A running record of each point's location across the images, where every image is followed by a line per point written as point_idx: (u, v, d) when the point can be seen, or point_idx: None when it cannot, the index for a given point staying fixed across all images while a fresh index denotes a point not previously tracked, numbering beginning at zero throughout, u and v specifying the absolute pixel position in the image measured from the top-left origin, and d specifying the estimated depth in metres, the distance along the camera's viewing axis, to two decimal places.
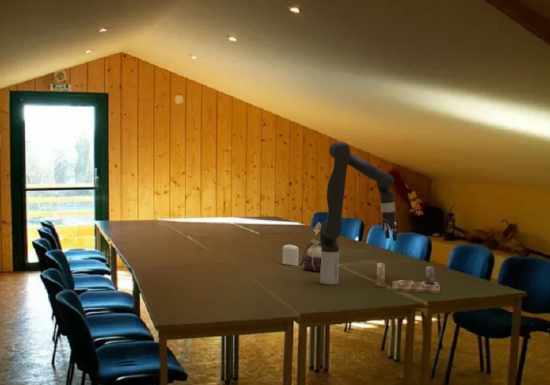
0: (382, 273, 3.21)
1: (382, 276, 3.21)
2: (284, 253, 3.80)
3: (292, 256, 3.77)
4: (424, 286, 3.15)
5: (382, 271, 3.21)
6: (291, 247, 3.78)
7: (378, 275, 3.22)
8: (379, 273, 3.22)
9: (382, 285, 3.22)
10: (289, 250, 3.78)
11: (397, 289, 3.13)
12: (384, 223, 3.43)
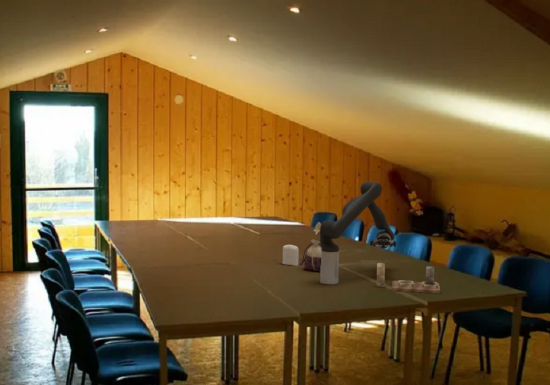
0: (382, 273, 3.21)
1: (382, 276, 3.21)
2: (284, 253, 3.80)
3: (292, 256, 3.77)
4: (424, 286, 3.15)
5: (382, 271, 3.21)
6: (291, 247, 3.78)
7: (378, 275, 3.22)
8: (379, 273, 3.22)
9: (382, 285, 3.22)
10: (289, 250, 3.78)
11: (397, 289, 3.13)
12: (373, 241, 3.43)
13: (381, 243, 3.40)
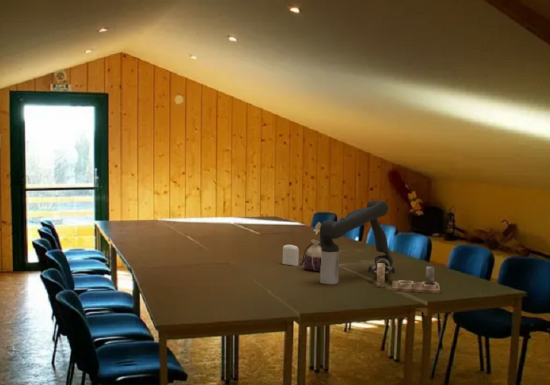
0: (382, 273, 3.21)
1: (382, 276, 3.21)
2: (284, 253, 3.80)
3: (293, 256, 3.77)
4: (424, 286, 3.15)
5: (382, 271, 3.21)
6: (291, 247, 3.78)
7: (378, 275, 3.22)
8: (379, 273, 3.22)
9: (382, 285, 3.22)
10: (289, 250, 3.78)
11: (397, 289, 3.13)
12: (371, 267, 3.38)
13: None
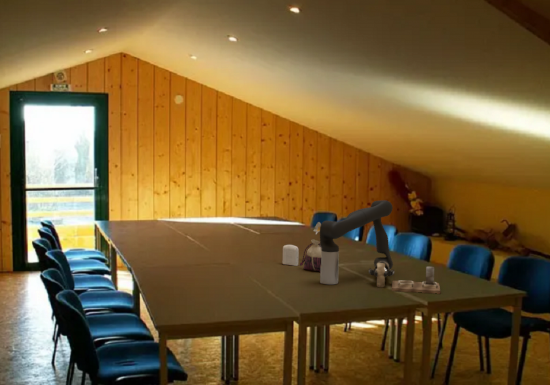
0: (382, 273, 3.21)
1: (382, 276, 3.21)
2: (284, 253, 3.80)
3: (292, 256, 3.77)
4: (424, 286, 3.15)
5: (382, 271, 3.21)
6: (291, 247, 3.78)
7: (378, 275, 3.22)
8: (379, 273, 3.21)
9: (382, 285, 3.22)
10: (289, 250, 3.78)
11: (397, 289, 3.13)
12: (372, 270, 3.30)
13: None
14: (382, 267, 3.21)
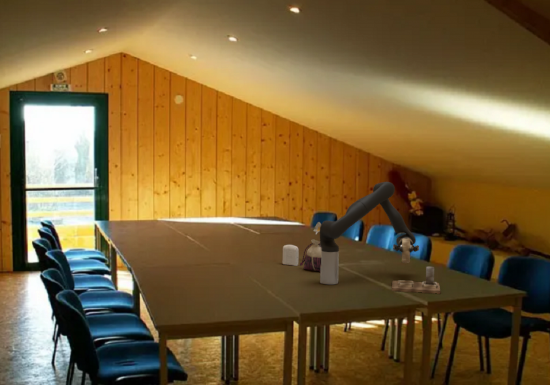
0: (407, 248, 3.18)
1: (407, 252, 3.18)
2: (284, 253, 3.80)
3: (292, 256, 3.77)
4: (424, 286, 3.15)
5: (407, 246, 3.18)
6: (291, 247, 3.78)
7: (403, 251, 3.19)
8: (404, 249, 3.18)
9: (407, 261, 3.19)
10: (289, 250, 3.78)
11: (397, 289, 3.13)
12: (396, 246, 3.26)
13: None
14: (407, 242, 3.18)
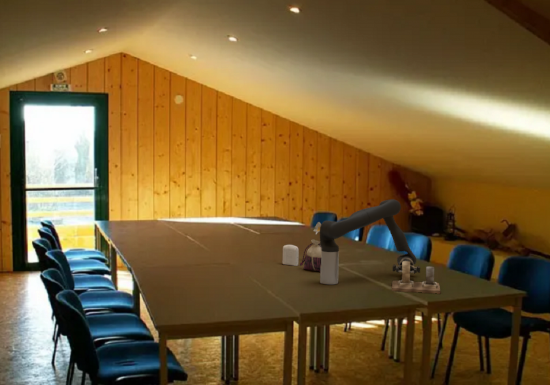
0: (407, 271, 3.19)
1: (407, 274, 3.19)
2: (284, 253, 3.80)
3: (292, 256, 3.77)
4: (424, 286, 3.15)
5: (407, 269, 3.18)
6: (291, 247, 3.78)
7: (403, 273, 3.19)
8: (404, 271, 3.19)
9: None
10: (289, 250, 3.78)
11: (397, 289, 3.13)
12: (395, 266, 3.28)
13: None
14: (407, 265, 3.18)
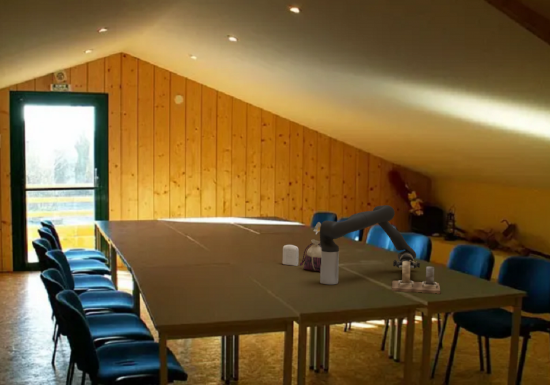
0: (408, 271, 3.19)
1: (408, 274, 3.19)
2: (284, 253, 3.80)
3: (292, 256, 3.77)
4: (424, 286, 3.15)
5: (408, 269, 3.18)
6: (291, 247, 3.78)
7: (403, 273, 3.19)
8: (404, 271, 3.19)
9: None
10: (289, 250, 3.78)
11: (397, 289, 3.13)
12: (396, 262, 3.41)
13: None
14: (407, 265, 3.18)
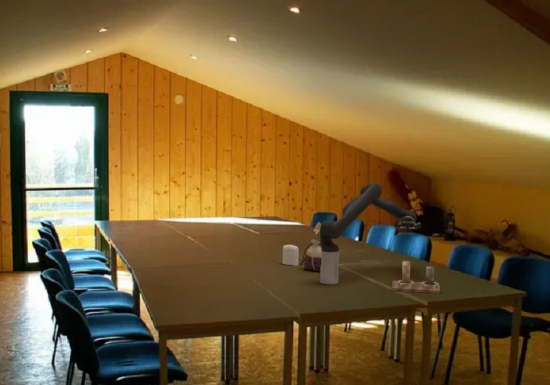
0: (408, 271, 3.19)
1: (408, 274, 3.19)
2: (284, 253, 3.80)
3: (292, 256, 3.77)
4: (424, 286, 3.15)
5: (408, 269, 3.18)
6: (291, 247, 3.78)
7: (403, 273, 3.19)
8: (404, 271, 3.19)
9: (408, 283, 3.19)
10: (289, 250, 3.78)
11: (397, 289, 3.13)
12: (397, 223, 3.45)
13: (406, 225, 3.42)
14: (407, 265, 3.18)
